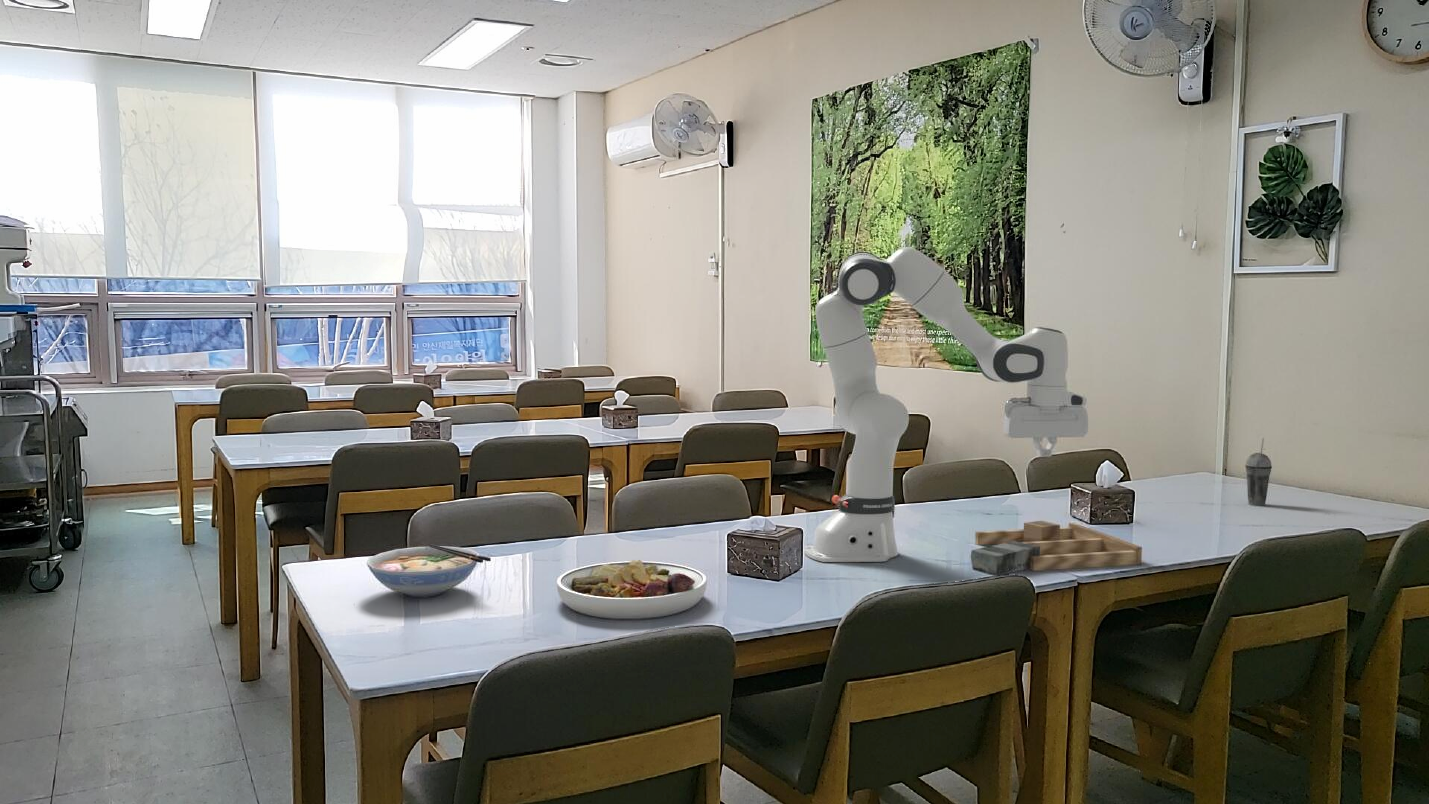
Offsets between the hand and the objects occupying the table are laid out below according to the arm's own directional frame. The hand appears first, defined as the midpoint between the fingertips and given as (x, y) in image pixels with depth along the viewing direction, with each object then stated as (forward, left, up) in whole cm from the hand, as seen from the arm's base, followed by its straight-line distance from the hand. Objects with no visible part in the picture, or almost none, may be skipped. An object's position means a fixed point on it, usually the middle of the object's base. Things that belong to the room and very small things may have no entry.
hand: (1044, 456), depth 254 cm
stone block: (-13, -5, -25) cm, 28 cm away
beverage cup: (+100, +49, -25) cm, 114 cm away
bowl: (-99, -14, -25) cm, 104 cm away
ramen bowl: (-140, +2, -25) cm, 143 cm away
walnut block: (+7, +11, -25) cm, 28 cm away
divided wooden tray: (+6, +5, -24) cm, 26 cm away
